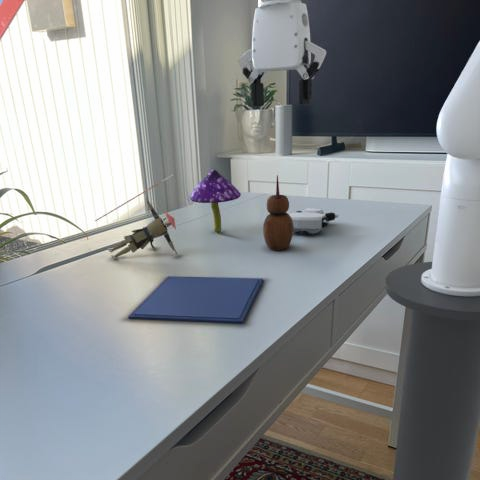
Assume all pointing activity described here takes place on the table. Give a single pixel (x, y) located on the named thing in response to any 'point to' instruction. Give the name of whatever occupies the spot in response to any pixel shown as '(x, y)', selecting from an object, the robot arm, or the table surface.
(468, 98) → the robot arm
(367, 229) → the table surface
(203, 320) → the blue square tray
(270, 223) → the wooden figurine
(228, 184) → the decorative mushroom
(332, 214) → the robot toy
